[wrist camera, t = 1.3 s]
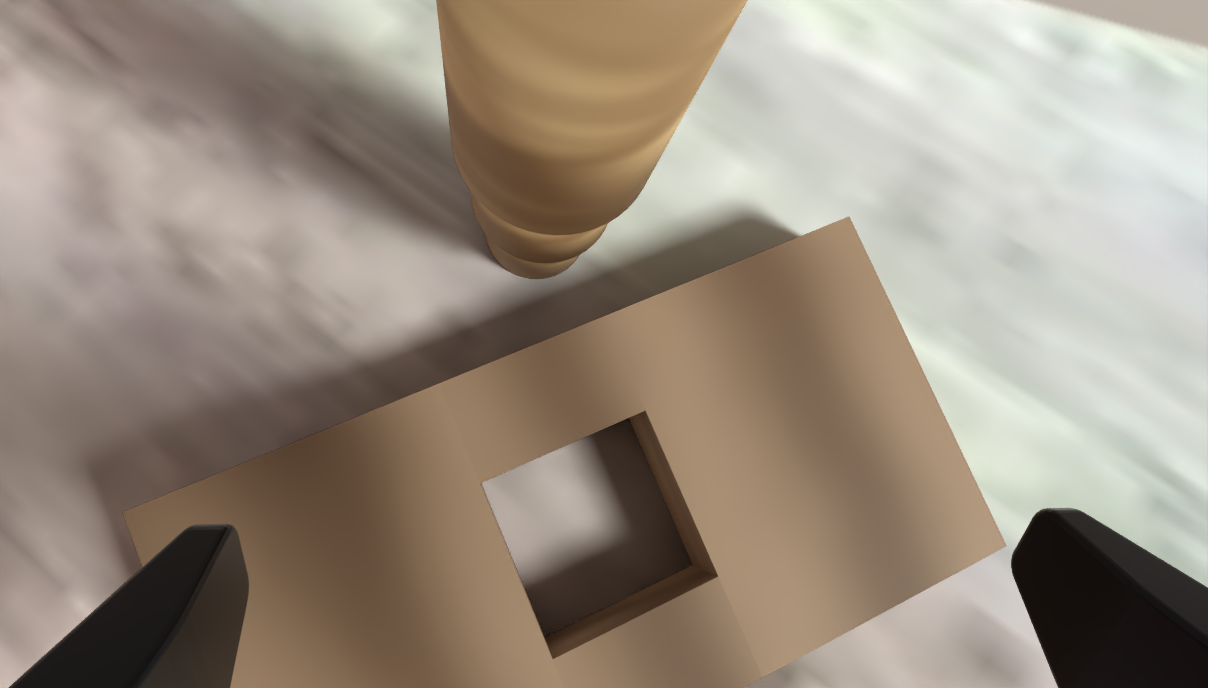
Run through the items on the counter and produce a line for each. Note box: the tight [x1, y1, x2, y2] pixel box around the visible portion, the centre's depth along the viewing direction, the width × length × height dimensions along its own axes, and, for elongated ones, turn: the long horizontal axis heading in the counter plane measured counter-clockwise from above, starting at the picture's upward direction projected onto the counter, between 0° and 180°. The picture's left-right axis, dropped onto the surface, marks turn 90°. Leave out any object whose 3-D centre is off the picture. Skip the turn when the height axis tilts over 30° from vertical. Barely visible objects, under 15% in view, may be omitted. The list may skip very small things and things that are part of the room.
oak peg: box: [436, 0, 747, 279], centre depth 16 cm, size 4×4×14 cm
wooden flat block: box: [122, 217, 1006, 688], centre depth 20 cm, size 20×10×2 cm, turn 114°
